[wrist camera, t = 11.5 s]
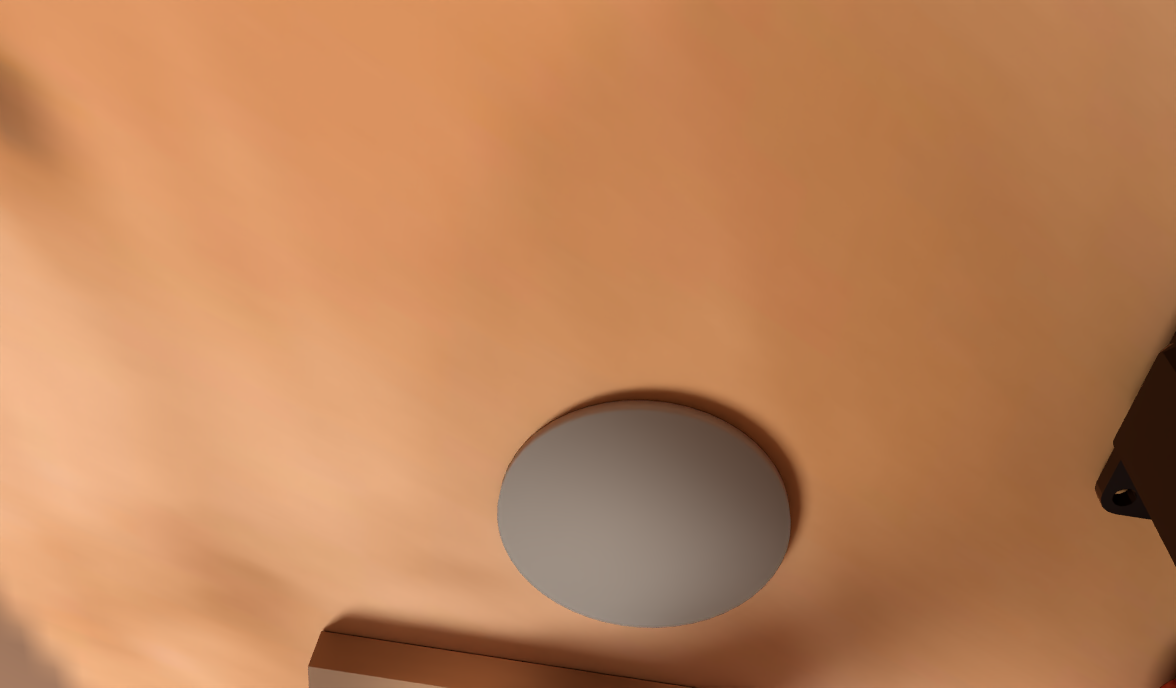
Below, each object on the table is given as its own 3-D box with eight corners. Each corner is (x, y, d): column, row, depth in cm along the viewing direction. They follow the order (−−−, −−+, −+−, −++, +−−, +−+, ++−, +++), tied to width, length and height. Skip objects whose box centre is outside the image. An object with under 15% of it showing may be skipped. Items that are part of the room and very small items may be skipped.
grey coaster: (821, 425, 24) (823, 436, 23) (755, 633, 28) (755, 646, 27) (512, 378, 24) (509, 389, 23) (489, 593, 28) (487, 604, 27)
